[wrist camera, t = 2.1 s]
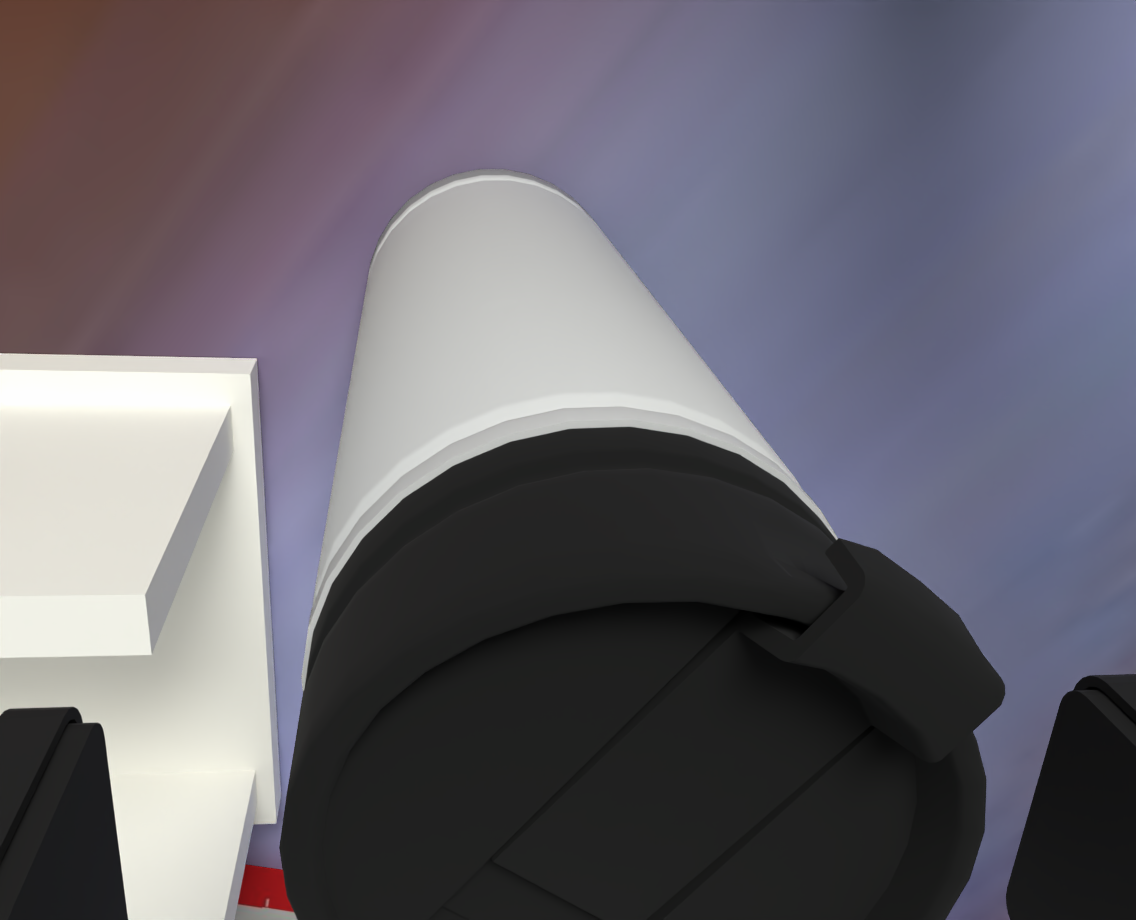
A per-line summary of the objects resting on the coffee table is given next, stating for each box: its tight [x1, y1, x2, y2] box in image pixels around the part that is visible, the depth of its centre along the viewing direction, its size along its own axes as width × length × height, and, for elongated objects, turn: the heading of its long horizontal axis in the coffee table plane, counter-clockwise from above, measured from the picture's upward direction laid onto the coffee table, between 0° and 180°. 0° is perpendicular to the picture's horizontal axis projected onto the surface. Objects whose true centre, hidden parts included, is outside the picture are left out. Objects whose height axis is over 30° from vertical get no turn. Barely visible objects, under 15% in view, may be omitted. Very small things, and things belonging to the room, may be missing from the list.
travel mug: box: [279, 169, 1005, 920], centre depth 18 cm, size 6×7×20 cm
